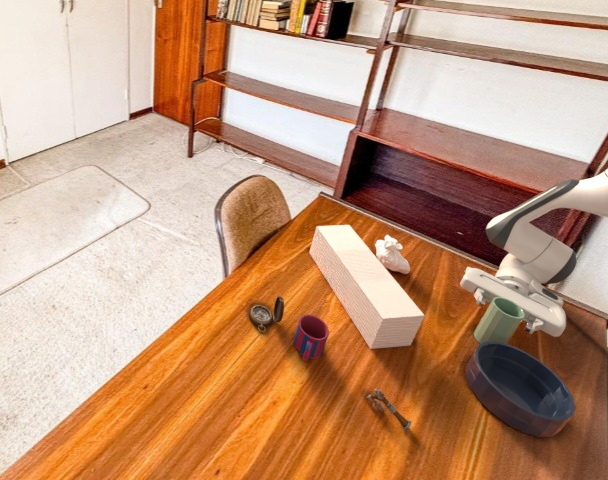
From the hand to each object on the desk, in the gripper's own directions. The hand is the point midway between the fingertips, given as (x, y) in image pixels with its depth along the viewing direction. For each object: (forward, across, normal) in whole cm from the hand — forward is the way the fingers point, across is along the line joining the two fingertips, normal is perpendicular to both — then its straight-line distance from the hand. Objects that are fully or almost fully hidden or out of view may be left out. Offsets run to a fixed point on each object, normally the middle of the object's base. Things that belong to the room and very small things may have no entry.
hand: (503, 317), depth 96 cm
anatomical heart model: (-6, -27, +8) cm, 29 cm away
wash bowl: (+14, +6, +8) cm, 17 cm away
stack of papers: (+13, -29, +8) cm, 33 cm away
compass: (+41, -40, +8) cm, 58 cm away
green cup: (+1, 0, +8) cm, 8 cm away
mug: (+40, -29, +8) cm, 50 cm away
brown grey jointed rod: (+40, -10, +8) cm, 42 cm away
